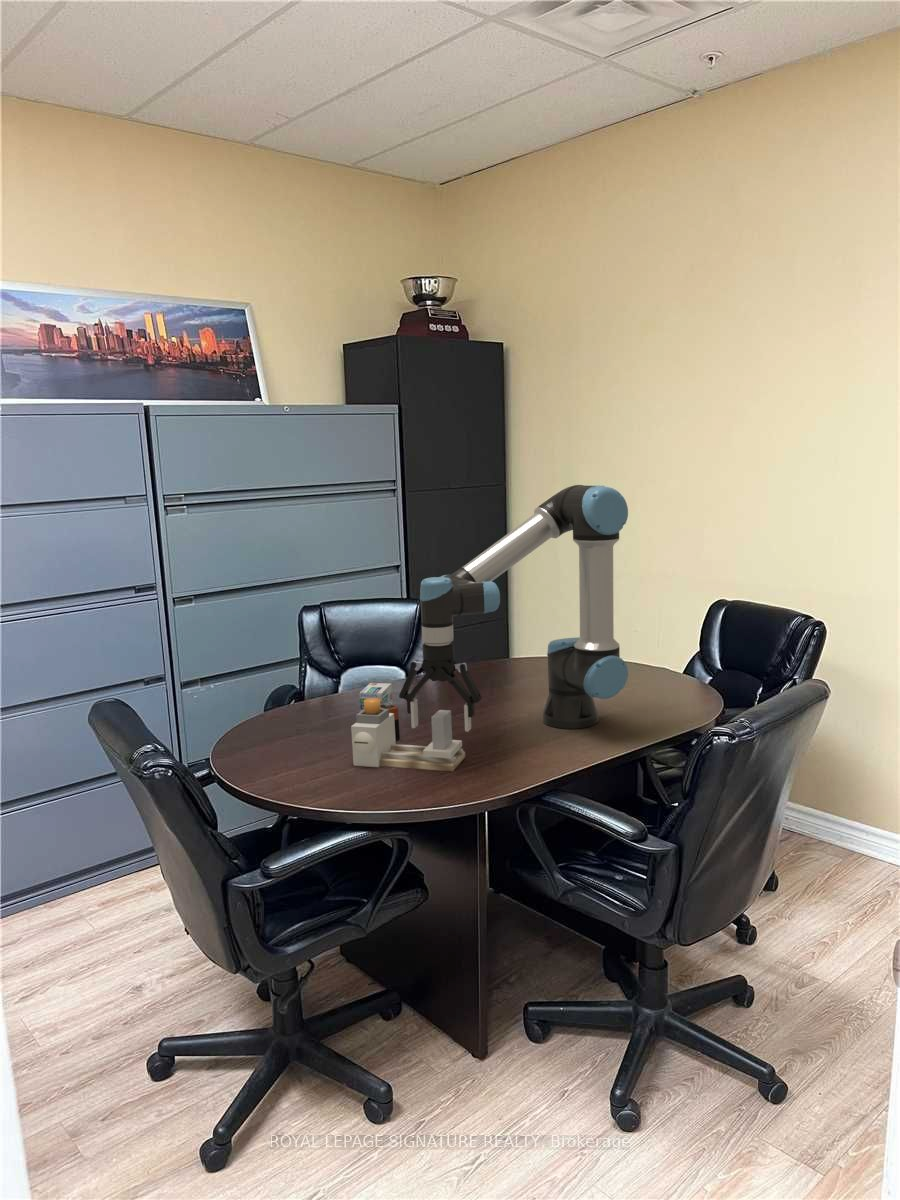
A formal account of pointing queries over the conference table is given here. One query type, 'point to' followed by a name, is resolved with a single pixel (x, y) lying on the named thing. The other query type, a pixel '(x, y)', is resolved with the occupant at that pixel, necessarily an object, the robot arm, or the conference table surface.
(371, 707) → the button
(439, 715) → the carriage
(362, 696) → the light bulb box
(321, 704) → the conference table surface
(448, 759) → the rail bed
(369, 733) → the cabinet
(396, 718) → the battery
